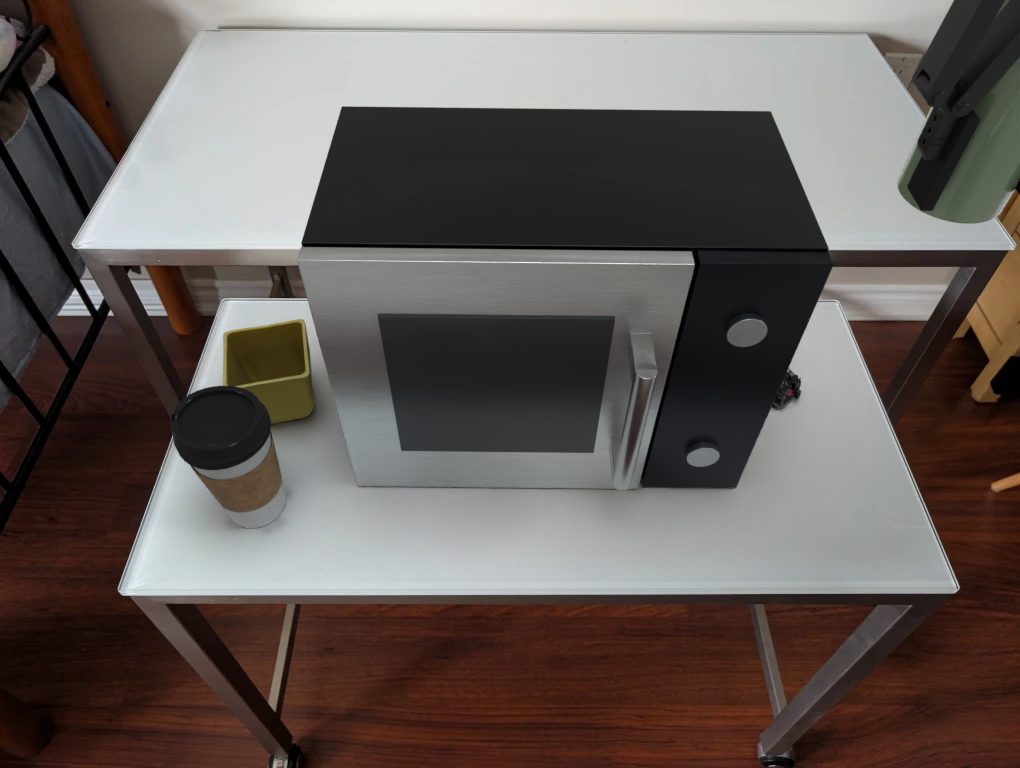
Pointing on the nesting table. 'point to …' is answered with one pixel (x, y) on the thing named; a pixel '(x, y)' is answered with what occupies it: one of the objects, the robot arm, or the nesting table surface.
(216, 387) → the coffee cup
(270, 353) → the flower pot
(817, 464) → the nesting table surface
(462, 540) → the nesting table surface
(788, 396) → the toy car
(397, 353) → the microwave door
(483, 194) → the microwave
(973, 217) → the canister
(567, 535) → the nesting table surface
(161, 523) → the nesting table surface
